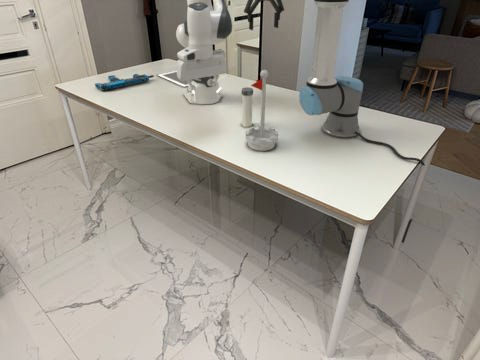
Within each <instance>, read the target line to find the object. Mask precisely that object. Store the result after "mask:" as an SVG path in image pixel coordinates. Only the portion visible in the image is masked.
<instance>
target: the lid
mask: <svg viewBox="0 0 480 360" xmlns="http://www.w3.org/2000/svg"><path fill="white" fill-rule="evenodd" d="M242 95H245V96H250V95H252V96H253V95H254V87H246V86H245V87H242V88H241V96H242Z"/></svg>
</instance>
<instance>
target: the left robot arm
mask: <svg viewBox="0 0 480 360" xmlns="http://www.w3.org/2000/svg"><path fill="white" fill-rule="evenodd" d="M212 1H213V4H212ZM186 3H187V11H186V12H187V13H186V14H185V15H184V16H183V18H182V20H183V21H182V22H183V23H181V24H179V25H178V26H177V28H176V31H175V36H176V40H177V42H178V43H179V44H180V45H181V46H182V47H183V49H181V50H180V51H178V52H177V53H176V56H177V58H178V60H177V61H176V71H177V77H178V78H179V79H180V80H181V81H186V80H187V83H188V84H189V85H188V86H187V87H186V92H185V93H183V96H184V97H185V98H186V100H187V101H188V102H189V104H195V105H213V104H216V103H218V102H219V101H220V99H221V98H223V96H222V94H221V92H220V90H221V89H222V87H220V85H219V84H220V83H219V82H218V80H219V78H220V75H225V74H226V73H227V70H228V69H227V62H226V52H225V50H223V49H222V48H218V49H214V46H213V45H218V44H221V43H223V42H225V41H226V40H227V38H228V37H229V36H230V35H231V34H232V32H233V20H232V17H231V14H230V12H229V9H228V7H227V3H226V0H186ZM213 5H214V7H213ZM214 9H215V10H214Z"/></svg>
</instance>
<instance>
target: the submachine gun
mask: <svg viewBox="0 0 480 360" xmlns="http://www.w3.org/2000/svg"><path fill="white" fill-rule="evenodd" d="M107 77H108V80H109V82H103V83H100V82H96V83H94V86H95V88H97V89H98V90H100V91H107V90H113V91H114V90H115V89H116V88H120V87H125V86H129V85H134V84H138V83H139V84H140V83H145V82H146V83H147V81H148V80H150V79H151V78H154V77H155V76H154V74H151V75H147V74H138V73H134V74H133V75H132V77H129V78H121V79H120V78H118V77H117V76H116V75H113V74H112V75H108V76H107Z"/></svg>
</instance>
